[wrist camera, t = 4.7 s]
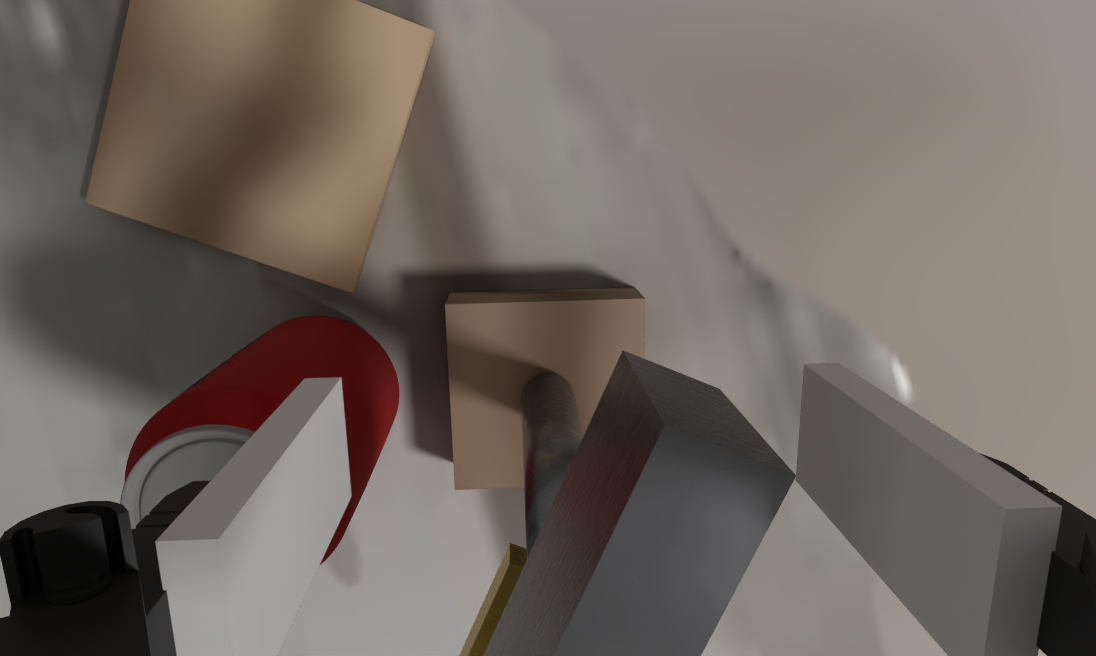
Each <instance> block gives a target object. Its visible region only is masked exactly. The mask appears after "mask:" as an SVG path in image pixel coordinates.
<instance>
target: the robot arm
mask: <svg viewBox="0 0 1096 656" xmlns="http://www.w3.org/2000/svg"><path fill="white" fill-rule="evenodd" d="M796 481H797V482H798V483H799V485H800V486H801V487H802V488H803V489H804V490H805V491H806V493H807V494H808V495H809V496H810V497H811V498H812V500H813V501H814V502H815V503H816V504H817V505H818V506H819V508H820V509H821V510H822V511H823V512H824V513H825V514H826V516H827V517H828V518H829V519H830V520H831V521H832V523H833V524H834V525H835V526H836V527H837V528H838V529H839V531H840V532H841V533H842V534H843V535H844V536H845V538H846V539H847V540H848V541H849V542H850V543H851V544H852V546H853V547H854V548H855V549H856V550H857V551H858V552H859V554H860V555H861V556H862V557H863V558H864V559H865V561H866V562H867V563H868V564H869V565H870V566H871V567H872V569H873V570H874V571H875V572H876V573H877V574H878V575H879V577H880V578H881V579H882V580H883V581H884V582H885V584H886V585H887V586H888V587H889V588H890V589H891V590H892V592H893V593H894V594H895V595H896V596H897V597H898V599H900V601H901V602H902V603H903V604H904V605H905V607H906V608H907V609H908V610H909V611H910V612H911V613H912V615H913V616H914V617H915V618H916V619H917V620H918V622H920V624H921V625H922V626H923V627H924V628H925V630H926V631H927V632H928V633H929V634H930V635H931V636H932V637H933V639H934V640H935V641H936V642H937V643H938V645H939V646H940V647H941V648H942V649H943V650H944V651H945V653H947V655H948V656H1038V650H1039V649H1041V650H1042V651H1043V652H1044V653H1045V654H1046V655H1047V656H1096V519H1094V518H1093V517H1091V516H1090V515H1088V514H1086V513H1085V512H1083V511H1082V510H1080V509H1078V508H1077V507H1075V506H1074V505H1072V504H1070V503H1069V502H1067V501H1066V500H1064V499H1062V498H1061V497H1059V496H1057V495H1056V494H1054V493H1053V492H1048V489H1047V488H1045V487H1043V486H1042V485H1040V484H1039V483H1037V482H1035V481H1034V480H1033V481H1030V480H1029V477H1027V476H1026V475H1024V474H1022V473H1021V472H1019V471H1018V470H1016V469H1015V468H1013V467H1011V466H1010V465H1008V464H1006V463H1004V462H1001V461H999V460H996V459H993V458H991V457H988V456H986V455H983V454H980V453H978V452H976V451H974V450H973V449H972V448H970V447H969V446H967V445H965V444H964V443H962V442H960V441H959V440H958V439H956V438H954V437H953V436H951V435H950V434H948V433H947V432H945V431H943V430H942V429H940V428H939V427H937V426H936V425H934V424H933V423H931V422H930V421H928V420H926V419H925V418H923V417H922V416H920V415H919V414H917V413H916V412H914V411H912V410H911V409H909V408H908V407H906V406H905V405H903V404H902V403H900V402H898V401H897V400H895V399H894V398H892V397H891V396H889V395H888V394H886V393H884V392H883V391H881V390H880V389H878V388H877V387H875V386H874V385H872V384H870V383H869V382H867V381H866V380H864V379H863V378H861V377H859V376H858V375H856V374H855V373H853V372H852V371H850V370H849V369H847V368H845V367H844V366H842V365H841V364H839V363H820V364H804V372H803V386H802V400H801V414H800V428H799V442H798V456H797V470H796ZM351 497H352V494H351V483H350V471H349V460H348V448H347V436H346V425H345V413H344V401H343V390H342V378H341V377H332V378H305V379H304V380H303V381H302V382H301V383H300V384H299V385H298V386H297V387H296V389H295V390H294V391H293V392H292V393H291V394H290V395H289V396H288V397H287V398H286V399H285V401H284V402H283V403H282V404H281V405H280V406H279V407H278V408H277V409H276V410H275V411H274V412H273V414H272V415H271V416H270V417H269V418H268V419H267V420H266V421H265V422H264V423H263V424H262V426H261V427H260V428H259V429H258V430H257V431H256V432H255V433H254V434H253V435H252V436H251V438H250V439H249V440H248V441H247V442H246V443H245V444H244V445H243V446H242V447H241V448H240V450H239V451H238V452H237V453H236V454H235V455H234V456H233V457H232V458H231V459H230V460H229V462H228V463H227V464H226V465H225V466H224V467H223V468H222V469H221V470H220V471H219V472H218V474H217V475H216V476H215V477H214V478H213V479H212V480H211V481H192V482H190V483H188V484H186V485H185V486H183V487H181V488H179V489H177V490H175V491H174V492H172V493H170V494H168V495H166V496H165V497H164V498H163V499H162V500H161V501H160V502H159V503H158V504H157V505H156V506H155V507H154V508H153V509H152V510H151V511H150V512H149V515H146V516H145V517H144V518H143V519H142V520H141V521H140V522H139V523H138V524H137V525H136V529H131V523H130V517H129V511H128V510H127V509H126V508H125V507H124V505H122V504H118V503H115V502H111V501H87V502H81V503H75V504H68V505H64V506H61V507H57V508H54V509H50V510H47V511H43V512H41V513H38V514H36V515H34V516H31V517H29V518H27V519H25V520H22V521H20V522H19V523H17V524H16V525H14V526H13V527H11V528H10V529H8V530H7V531H5V532H4V534H3V535H2V537H1V538H0V556H1V561H2V565H3V570H4V575H5V579H6V584H7V589H8V593H9V598H10V602H11V610H10V616H8V617H4V618H0V656H277V655H278V653H279V651H280V649H281V647H282V645H283V642H284V640H285V638H286V636H287V634H288V632H289V630H290V627H291V625H292V623H293V621H294V619H295V617H296V615H297V612H298V610H299V608H300V606H301V604H302V602H303V600H304V597H305V595H306V593H307V591H308V589H309V587H310V584H311V582H312V580H313V578H314V576H315V574H316V572H317V569H318V567H319V565H320V563H321V561H322V559H323V557H324V554H325V552H326V550H327V548H328V546H329V544H330V542H331V539H332V537H333V535H334V533H335V531H336V529H337V527H338V524H339V522H340V520H341V518H342V516H343V514H344V512H345V509H346V507H347V505H348V503H349V501H350V499H351Z"/></svg>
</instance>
